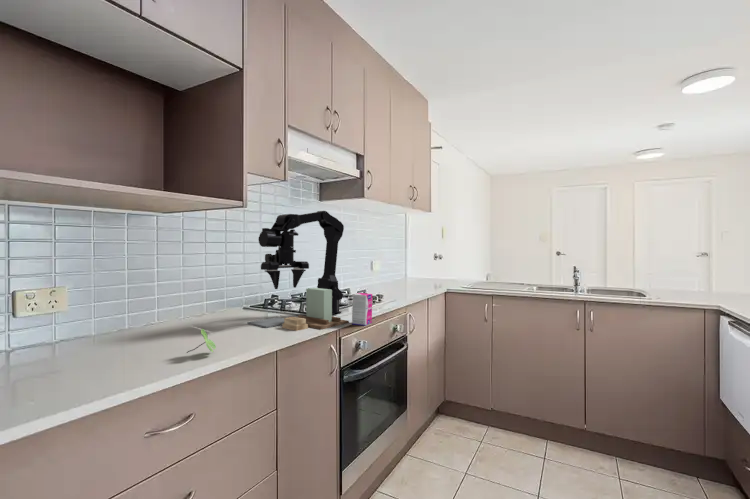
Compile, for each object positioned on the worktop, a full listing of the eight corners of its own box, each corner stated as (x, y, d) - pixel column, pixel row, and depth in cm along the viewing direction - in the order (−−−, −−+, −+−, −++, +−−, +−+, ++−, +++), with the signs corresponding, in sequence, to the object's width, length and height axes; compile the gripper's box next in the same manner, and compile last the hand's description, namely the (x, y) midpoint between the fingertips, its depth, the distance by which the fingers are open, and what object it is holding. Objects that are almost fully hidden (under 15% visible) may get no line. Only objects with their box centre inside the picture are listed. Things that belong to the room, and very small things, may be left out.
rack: (317, 317, 157) (317, 311, 157) (348, 323, 145) (348, 316, 145) (289, 323, 146) (289, 316, 146) (321, 329, 134) (321, 322, 134)
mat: (278, 318, 155) (278, 317, 155) (297, 322, 148) (297, 320, 148) (247, 323, 145) (247, 322, 145) (265, 328, 137) (265, 326, 137)
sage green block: (314, 318, 150) (314, 287, 150) (331, 321, 144) (331, 289, 144) (306, 319, 147) (306, 288, 147) (324, 323, 141) (323, 290, 141)
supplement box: (365, 326, 140) (365, 295, 140) (351, 325, 142) (351, 294, 142) (372, 323, 145) (372, 293, 145) (358, 322, 147) (358, 292, 147)
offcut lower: (293, 326, 142) (293, 321, 142) (307, 329, 136) (307, 324, 136) (282, 329, 138) (282, 323, 138) (296, 332, 133) (296, 326, 133)
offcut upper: (293, 322, 140) (293, 316, 140) (305, 324, 136) (305, 318, 136) (284, 323, 137) (284, 318, 137) (296, 326, 133) (296, 320, 133)
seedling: (199, 368, 106) (220, 354, 107) (184, 360, 99) (207, 345, 101) (190, 347, 109) (211, 334, 111) (175, 338, 103) (198, 324, 104)
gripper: (291, 247, 158) (291, 285, 158) (252, 247, 144) (251, 288, 143) (310, 247, 151) (309, 287, 151) (270, 246, 137) (269, 290, 136)
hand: (285, 288), depth 146 cm, fingers open, 8 cm apart
